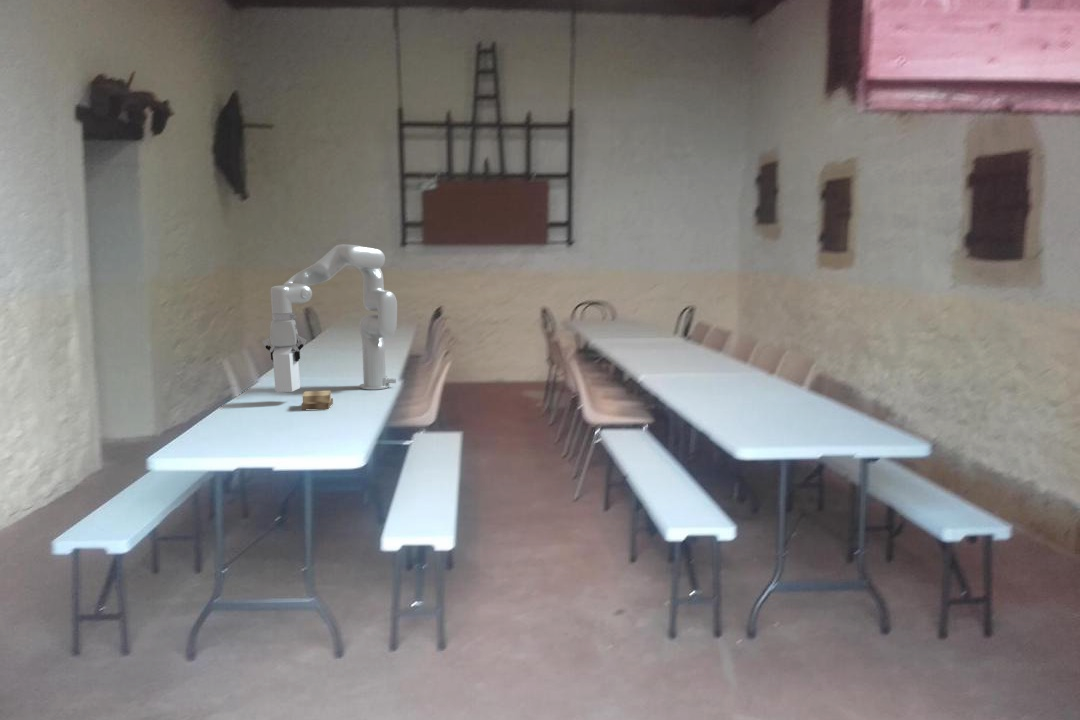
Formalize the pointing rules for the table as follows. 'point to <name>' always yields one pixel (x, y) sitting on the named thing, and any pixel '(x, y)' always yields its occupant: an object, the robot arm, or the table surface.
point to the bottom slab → (317, 405)
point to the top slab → (316, 397)
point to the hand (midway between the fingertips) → (285, 361)
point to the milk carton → (286, 369)
